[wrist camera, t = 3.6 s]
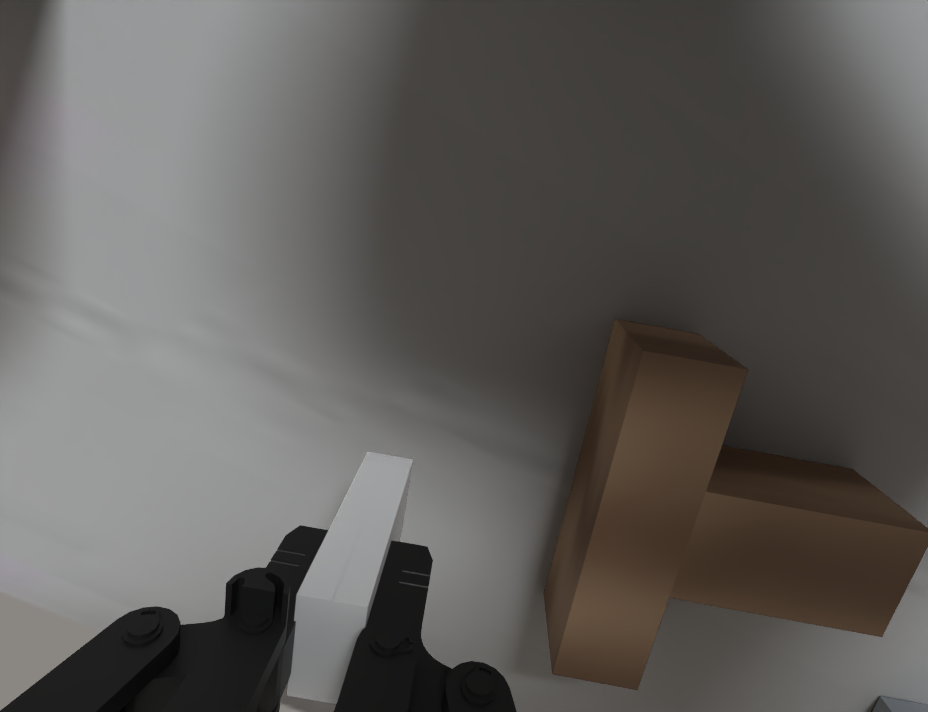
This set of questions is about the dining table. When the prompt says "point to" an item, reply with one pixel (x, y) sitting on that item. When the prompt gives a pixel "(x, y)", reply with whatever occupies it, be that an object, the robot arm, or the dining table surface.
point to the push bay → (898, 706)
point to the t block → (706, 517)
